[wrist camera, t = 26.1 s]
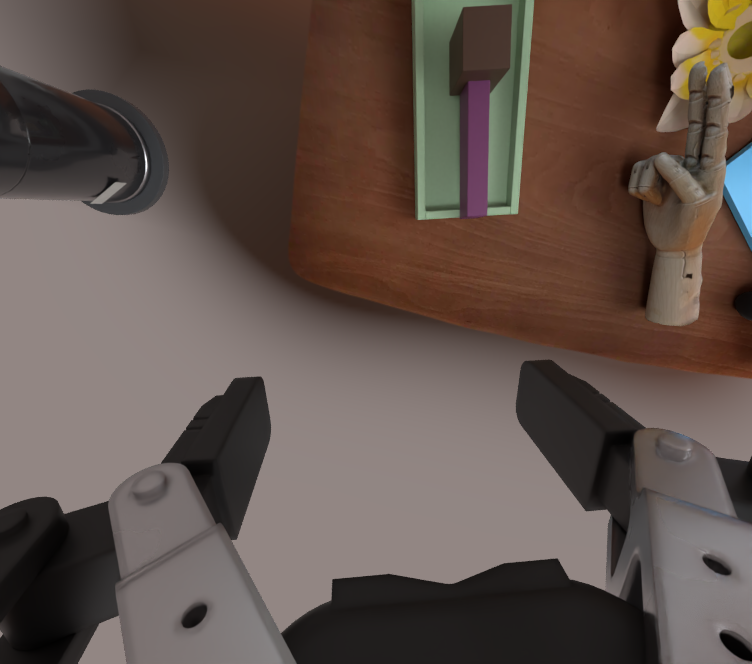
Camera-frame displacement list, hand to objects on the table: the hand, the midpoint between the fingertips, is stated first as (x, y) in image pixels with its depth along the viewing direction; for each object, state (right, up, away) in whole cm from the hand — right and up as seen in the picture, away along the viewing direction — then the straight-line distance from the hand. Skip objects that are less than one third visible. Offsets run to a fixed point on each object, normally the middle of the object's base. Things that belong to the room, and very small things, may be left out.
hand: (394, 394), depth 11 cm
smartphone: (+38, +22, +25) cm, 51 cm away
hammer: (+9, +22, +24) cm, 33 cm away
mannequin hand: (+33, +3, +30) cm, 44 cm away
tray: (+9, +25, +24) cm, 36 cm away
